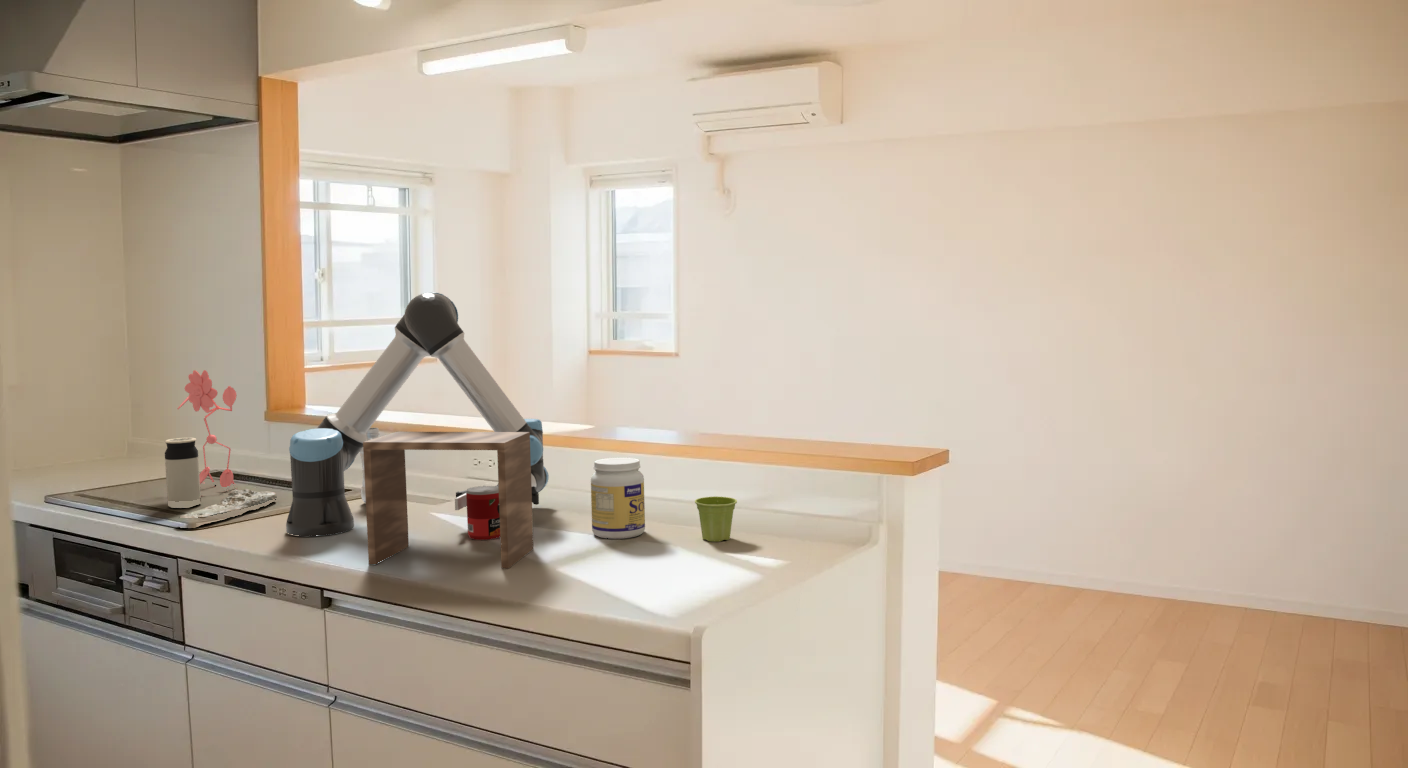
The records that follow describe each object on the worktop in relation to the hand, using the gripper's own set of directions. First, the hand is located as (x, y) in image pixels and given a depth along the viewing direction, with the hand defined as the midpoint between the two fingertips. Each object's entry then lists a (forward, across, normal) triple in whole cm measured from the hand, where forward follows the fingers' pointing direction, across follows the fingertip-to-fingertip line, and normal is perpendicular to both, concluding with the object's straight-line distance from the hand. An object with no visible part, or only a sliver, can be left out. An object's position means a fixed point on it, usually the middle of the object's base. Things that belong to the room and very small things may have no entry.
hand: (484, 504), depth 245 cm
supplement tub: (-6, -30, -8) cm, 31 cm away
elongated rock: (-18, +76, -8) cm, 79 cm away
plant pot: (-3, -53, -8) cm, 53 cm away
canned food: (-1, 0, -8) cm, 8 cm away
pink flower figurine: (-48, +103, -8) cm, 114 cm away
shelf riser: (+18, 0, -7) cm, 20 cm away
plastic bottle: (-35, +45, -8) cm, 57 cm away
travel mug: (-27, +94, -8) cm, 99 cm away
